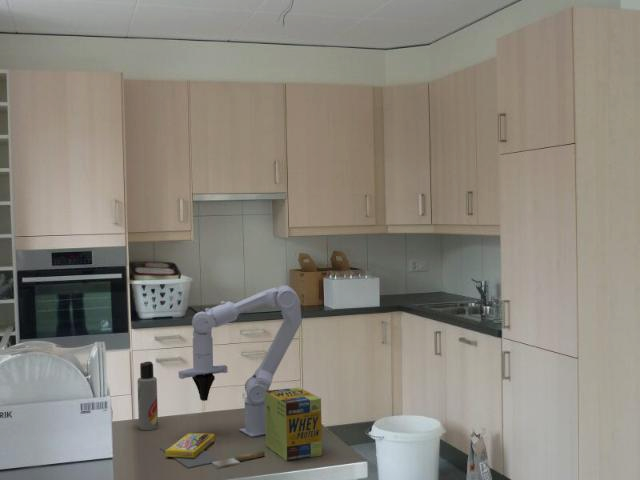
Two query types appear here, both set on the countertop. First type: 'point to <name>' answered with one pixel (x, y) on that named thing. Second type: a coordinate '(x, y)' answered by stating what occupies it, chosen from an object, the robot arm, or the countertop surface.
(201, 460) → the mat
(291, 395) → the protein box
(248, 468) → the countertop surface
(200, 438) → the candy box
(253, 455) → the turner
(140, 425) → the lotion bottle
